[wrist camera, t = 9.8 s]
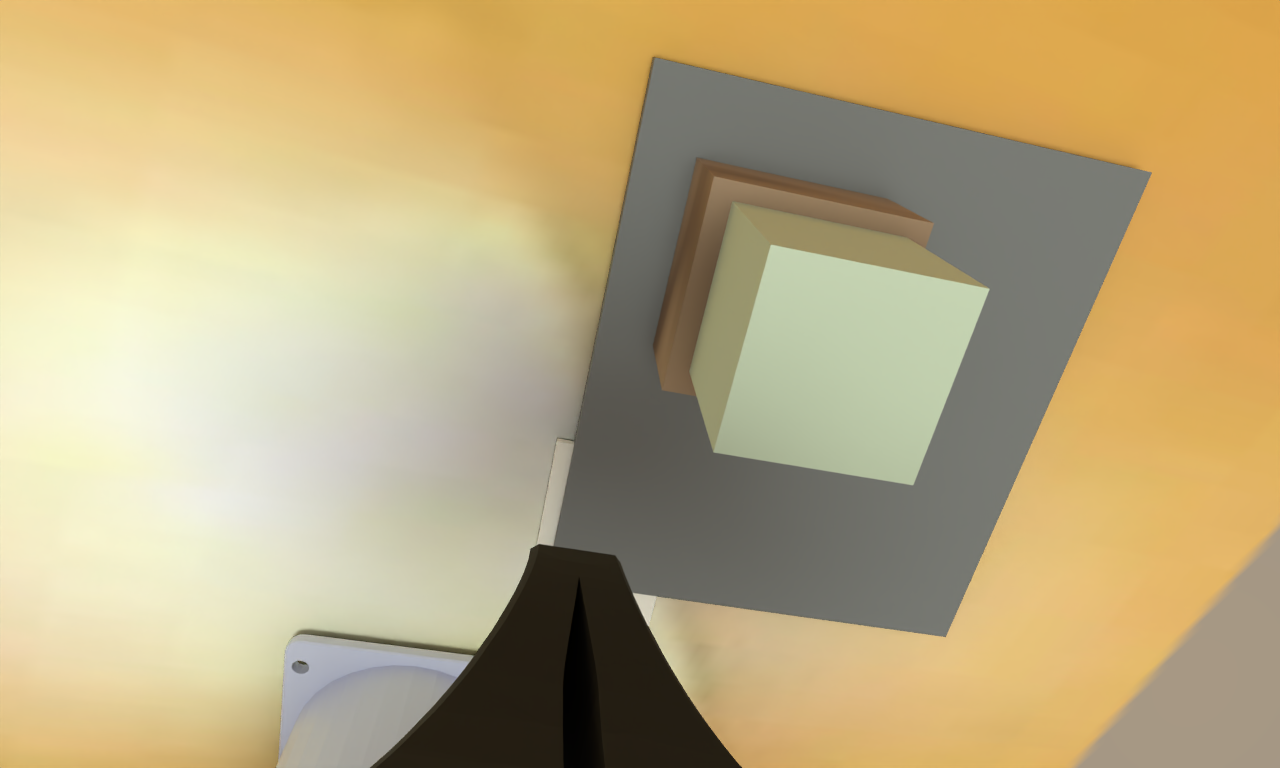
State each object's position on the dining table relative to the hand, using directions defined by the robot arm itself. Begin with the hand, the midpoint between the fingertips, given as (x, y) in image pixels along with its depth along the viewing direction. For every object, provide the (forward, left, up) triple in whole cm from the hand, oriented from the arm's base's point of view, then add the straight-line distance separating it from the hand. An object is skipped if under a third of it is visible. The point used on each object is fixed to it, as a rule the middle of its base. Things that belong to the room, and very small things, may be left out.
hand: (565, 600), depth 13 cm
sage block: (+4, -4, -7) cm, 9 cm away
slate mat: (+1, -7, -10) cm, 12 cm away
